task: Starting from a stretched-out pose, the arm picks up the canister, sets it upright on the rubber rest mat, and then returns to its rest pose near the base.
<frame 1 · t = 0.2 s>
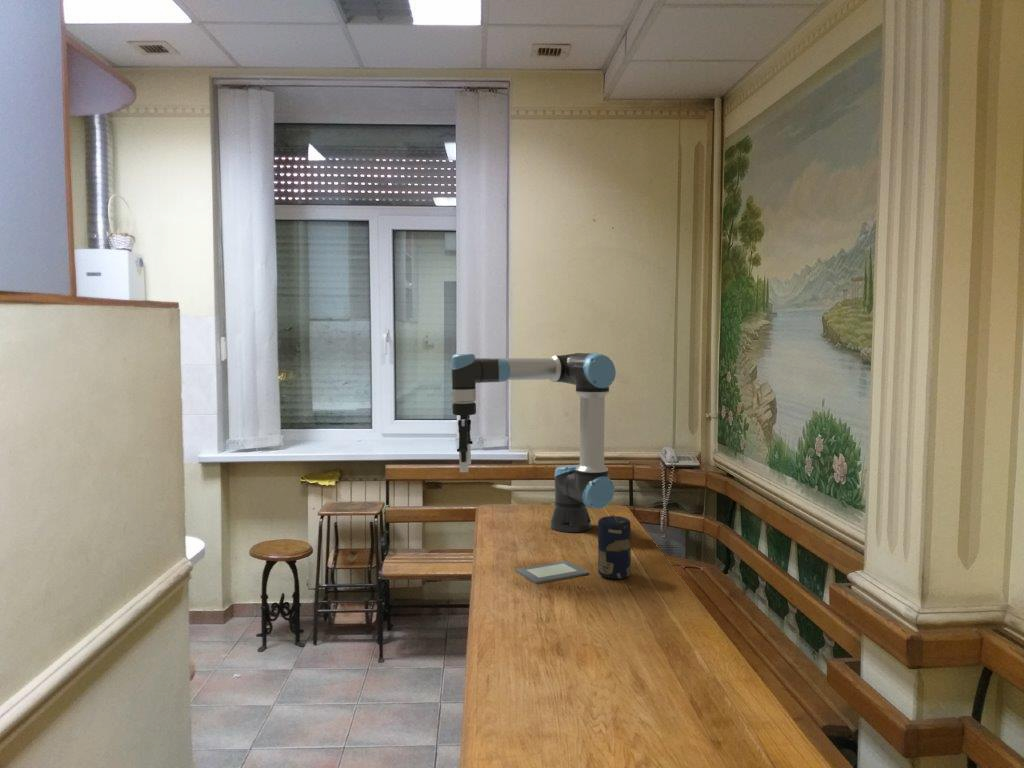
hand: (465, 468, 232), 29 cm above the table, fingers open, 13 cm apart
canister: (614, 576, 214), on the table
rest mat: (551, 572, 217), on the table
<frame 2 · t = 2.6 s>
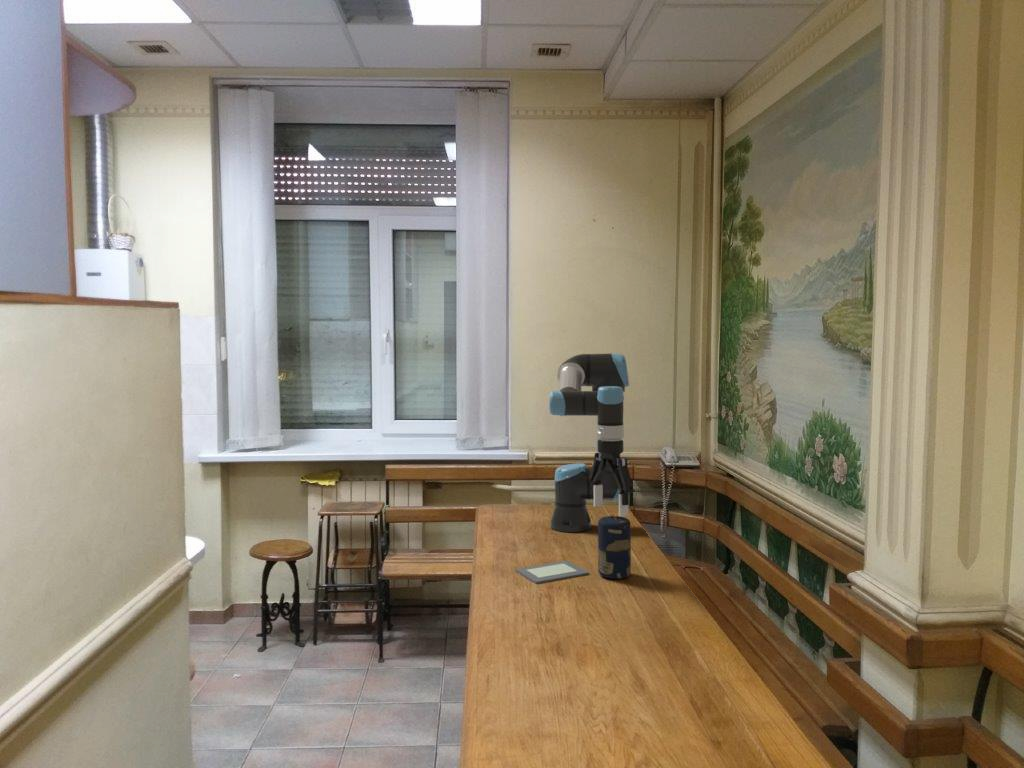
hand: (610, 511, 213), 19 cm above the table, fingers open, 13 cm apart
nothing on the table moved.
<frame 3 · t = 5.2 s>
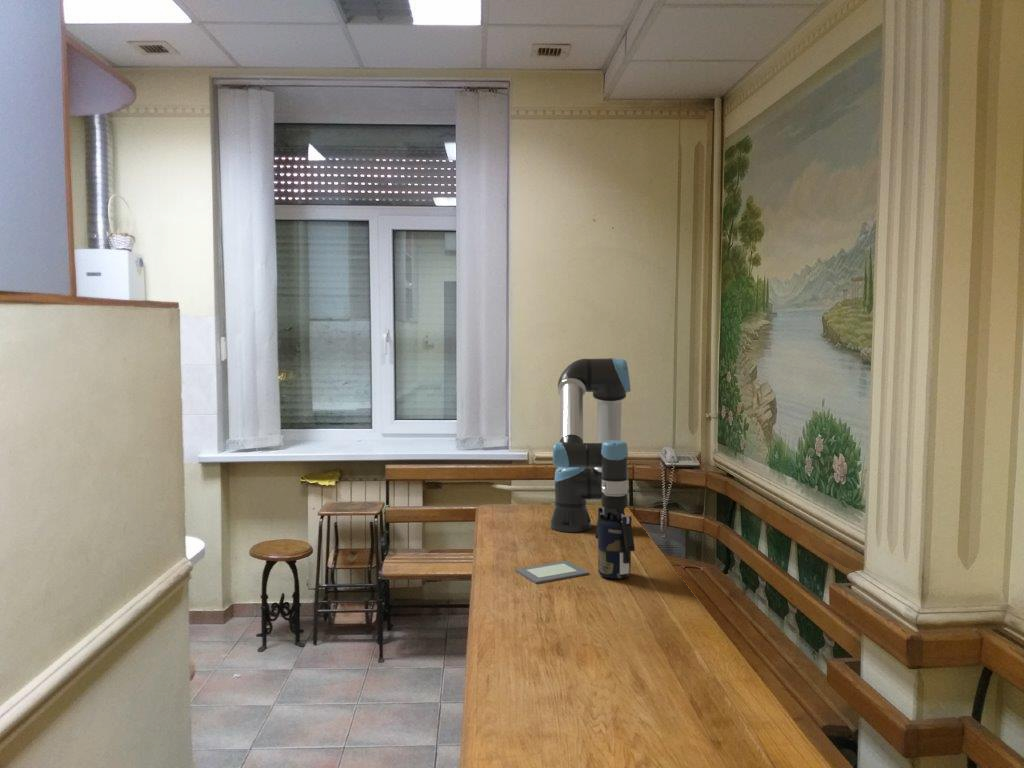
hand: (614, 568, 213), 2 cm above the table, fingers closed on canister, 9 cm apart
canister: (614, 576, 214), on the table, touching gripper
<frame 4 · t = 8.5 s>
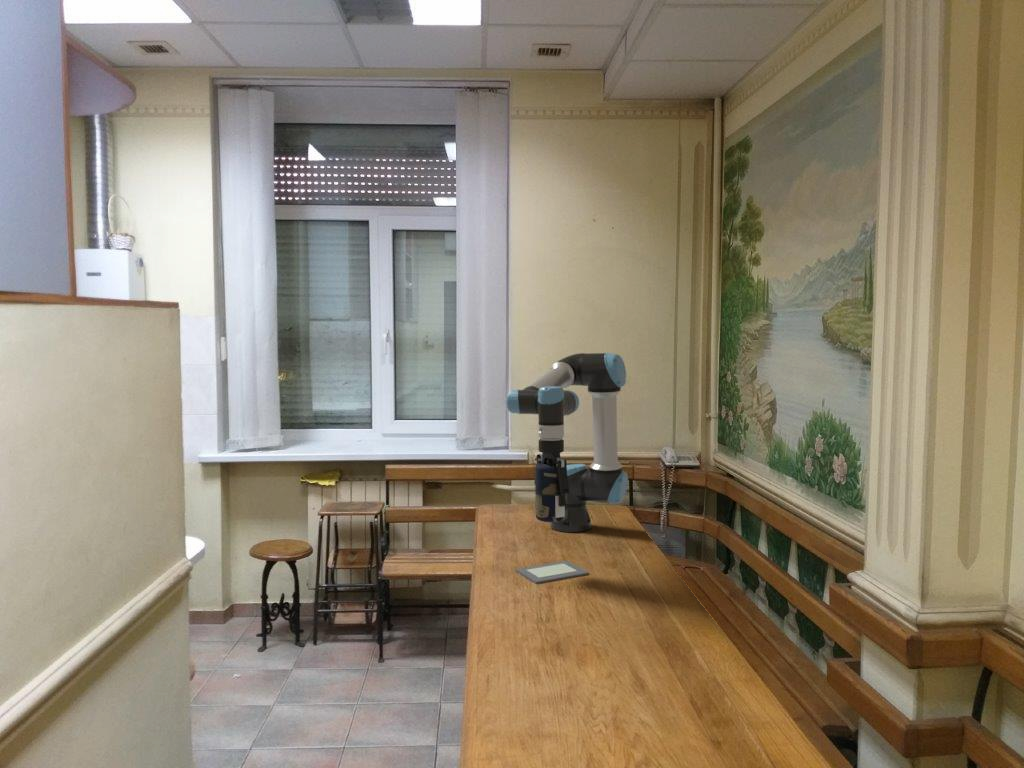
hand: (551, 513, 215), 18 cm above the table, fingers closed on canister, 9 cm apart
canister: (551, 520, 216), point 16 cm above the table, touching gripper
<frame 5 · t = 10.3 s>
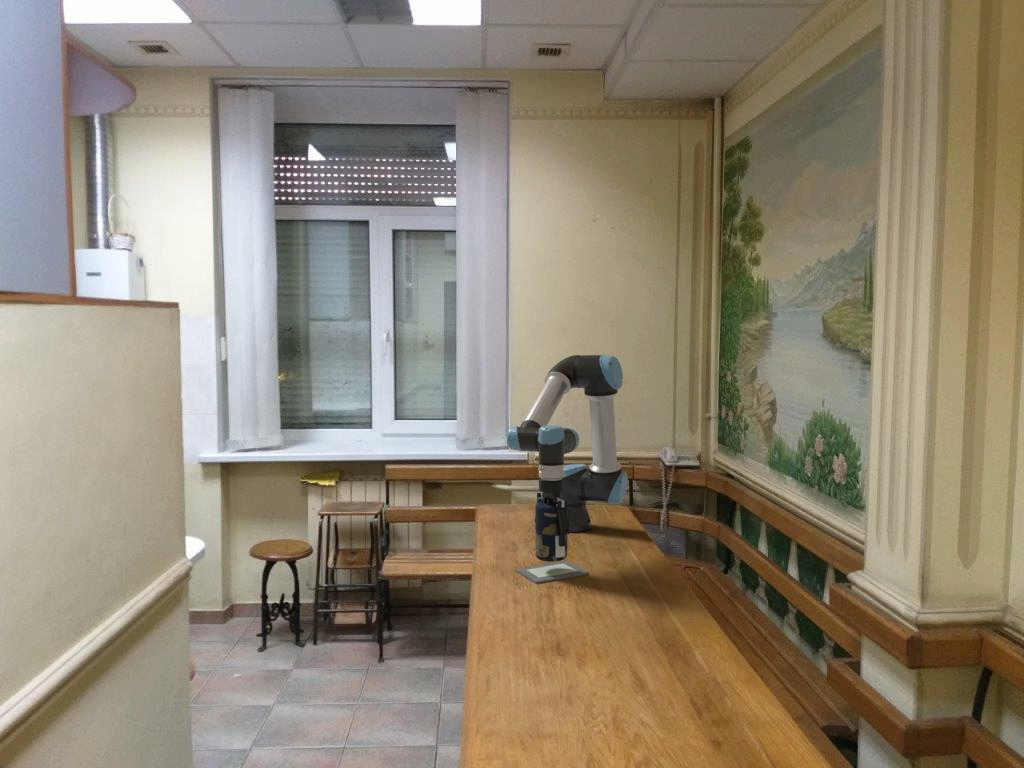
hand: (551, 552, 216), 6 cm above the table, fingers closed on canister, 9 cm apart
canister: (551, 559, 216), point 4 cm above the table, touching gripper
when the fingers open (4 cm above the table, at t = 11.7 s): canister drops 1 cm, resting on rest mat.
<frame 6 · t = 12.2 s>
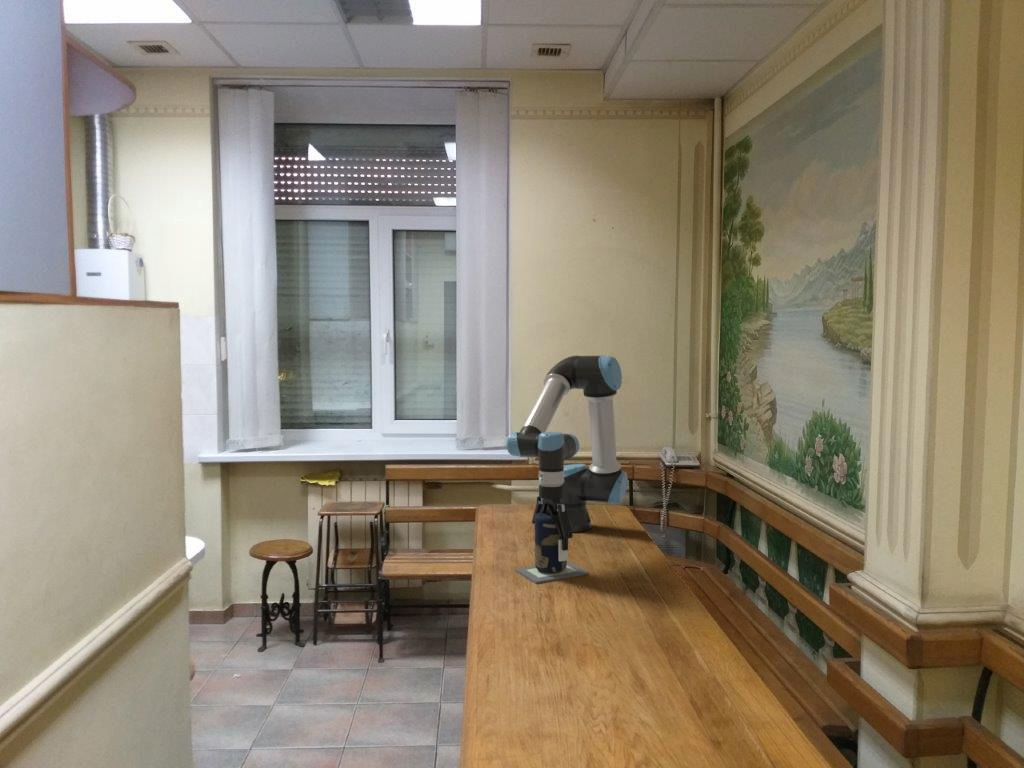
hand: (551, 554, 216), 6 cm above the table, fingers open, 13 cm apart
canister: (550, 570, 217), point 1 cm above the table, touching rest mat
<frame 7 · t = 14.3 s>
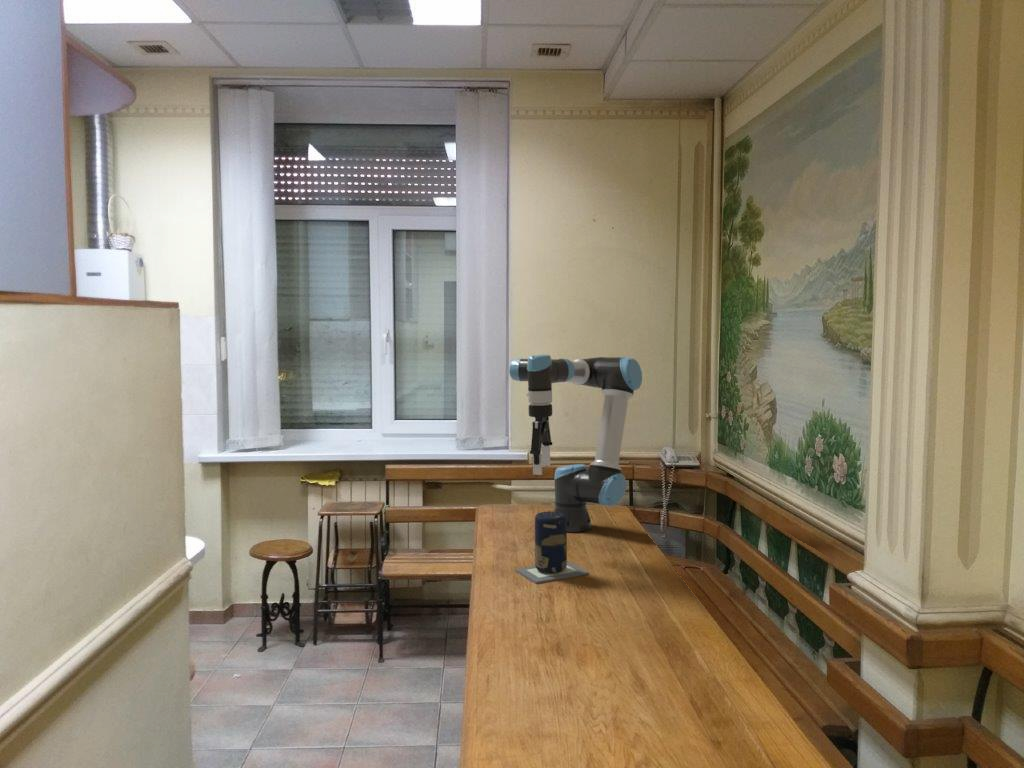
hand: (542, 469, 231), 28 cm above the table, fingers open, 13 cm apart
nothing on the table moved.
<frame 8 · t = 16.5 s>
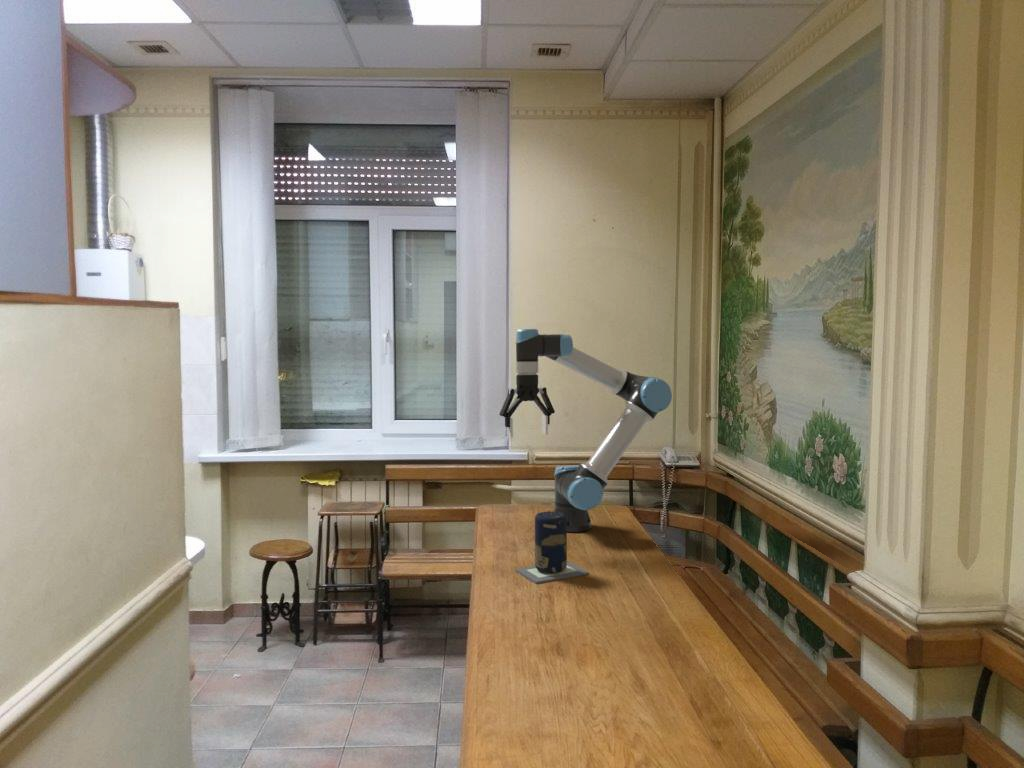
hand: (527, 435, 249), 37 cm above the table, fingers open, 13 cm apart
nothing on the table moved.
at the end: canister inside the target area on the rest mat (0.4 cm from its centre), point 0.5 cm above the rest mat's base; canister tilted 0°; the gripper is holding nothing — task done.
